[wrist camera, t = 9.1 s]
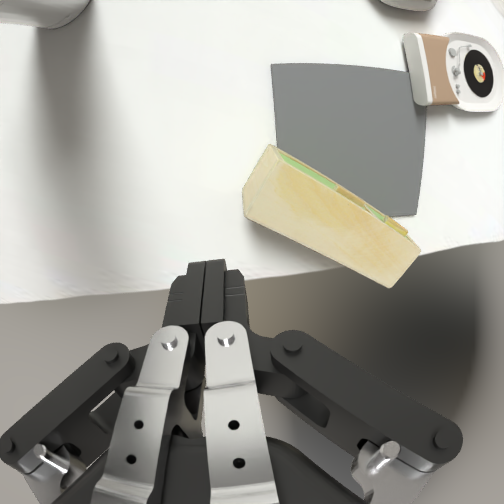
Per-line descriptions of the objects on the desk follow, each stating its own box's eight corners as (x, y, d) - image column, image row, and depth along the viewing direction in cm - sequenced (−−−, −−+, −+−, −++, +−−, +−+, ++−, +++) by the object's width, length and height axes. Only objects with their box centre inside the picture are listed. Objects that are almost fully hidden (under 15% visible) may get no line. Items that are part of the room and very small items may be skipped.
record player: (413, 22, 21) (506, 43, 20) (399, 25, 23) (492, 42, 22) (429, 115, 27) (514, 114, 26) (414, 112, 29) (501, 110, 28)
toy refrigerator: (272, 136, 31) (398, 218, 38) (241, 189, 35) (368, 257, 41) (282, 150, 25) (426, 247, 31) (242, 217, 28) (389, 291, 34)
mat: (270, 64, 27) (271, 64, 27) (423, 75, 27) (426, 75, 27) (281, 223, 38) (282, 225, 37) (414, 212, 38) (416, 214, 37)
